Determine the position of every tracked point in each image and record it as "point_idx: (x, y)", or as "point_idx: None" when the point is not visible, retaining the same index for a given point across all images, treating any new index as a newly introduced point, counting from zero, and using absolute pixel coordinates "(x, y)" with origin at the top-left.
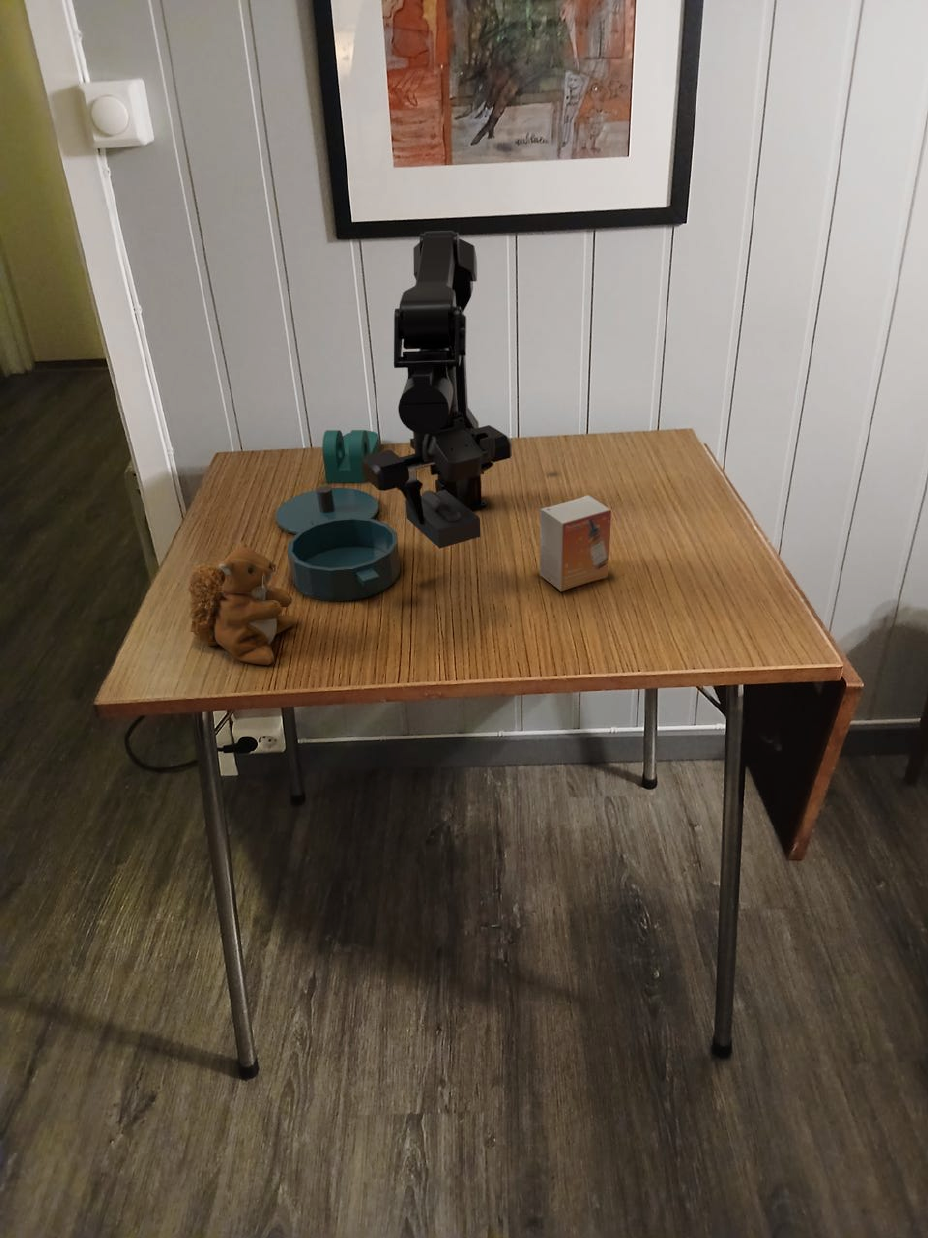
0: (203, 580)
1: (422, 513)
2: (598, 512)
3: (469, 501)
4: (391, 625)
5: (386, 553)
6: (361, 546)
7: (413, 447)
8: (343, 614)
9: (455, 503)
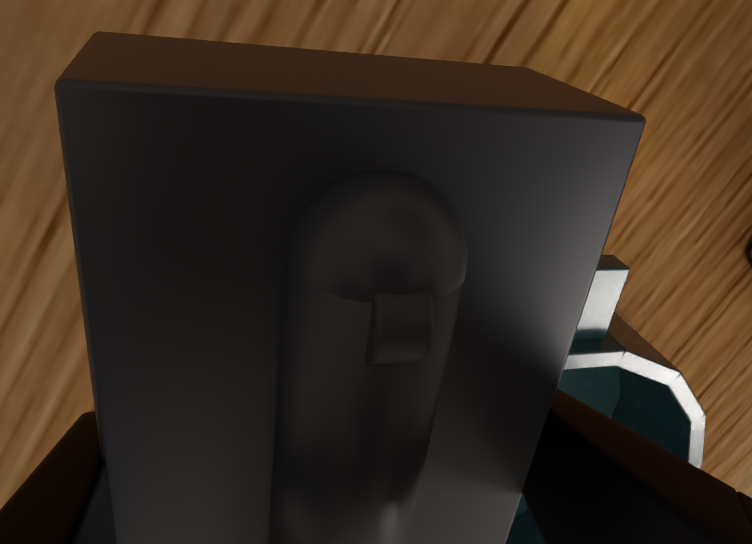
0: None
1: (581, 429)
2: None
3: (22, 486)
4: (572, 56)
5: None
6: None
7: None
8: (627, 220)
9: (175, 513)
